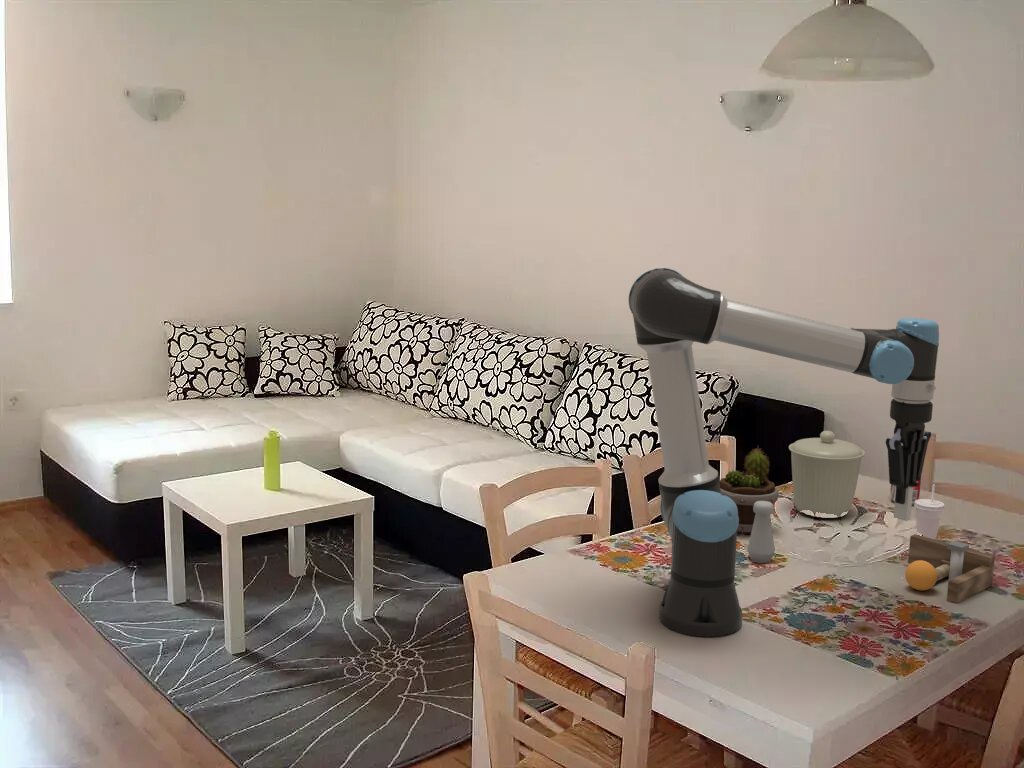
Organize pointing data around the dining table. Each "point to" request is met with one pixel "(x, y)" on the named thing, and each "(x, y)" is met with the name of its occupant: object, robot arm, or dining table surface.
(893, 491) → the soda can
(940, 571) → the maple pin
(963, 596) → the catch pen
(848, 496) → the canister
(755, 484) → the flowerpot
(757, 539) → the salt shaker
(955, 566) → the grey pin
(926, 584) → the ball
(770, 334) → the robot arm
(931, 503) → the smoothie
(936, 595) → the dining table surface
